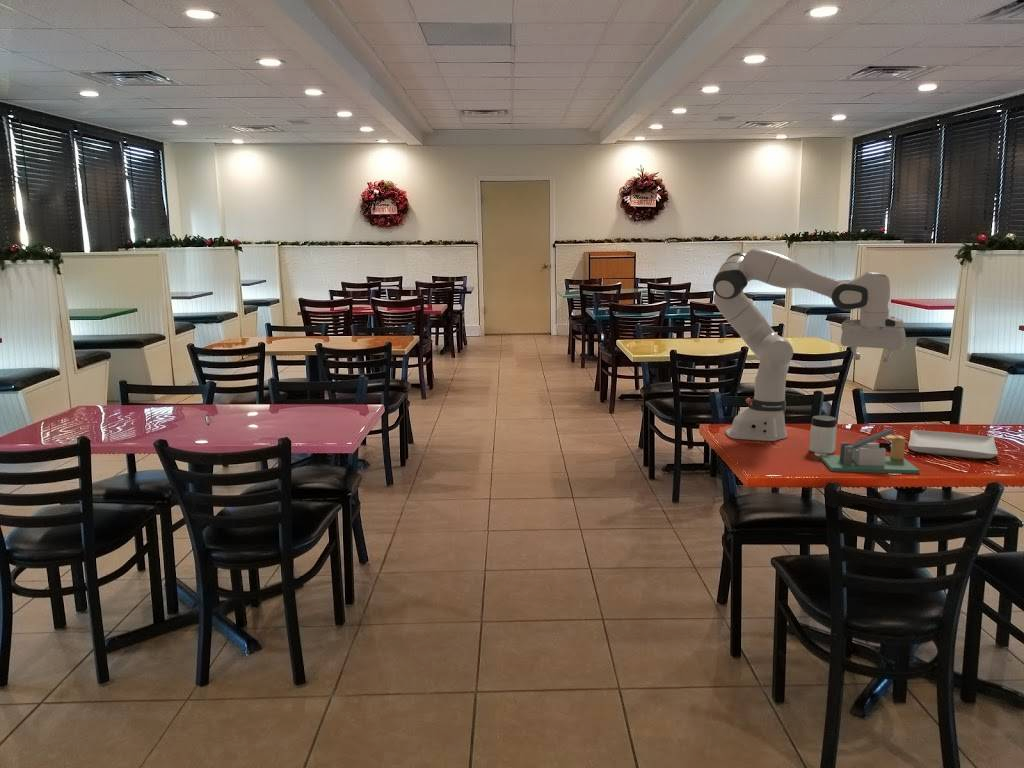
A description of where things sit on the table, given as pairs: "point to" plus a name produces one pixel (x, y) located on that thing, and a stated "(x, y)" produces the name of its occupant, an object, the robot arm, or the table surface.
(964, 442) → the square plate
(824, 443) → the jar
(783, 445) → the table surface
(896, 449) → the tan wooden block
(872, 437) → the dark grey flat bar
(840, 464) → the board
